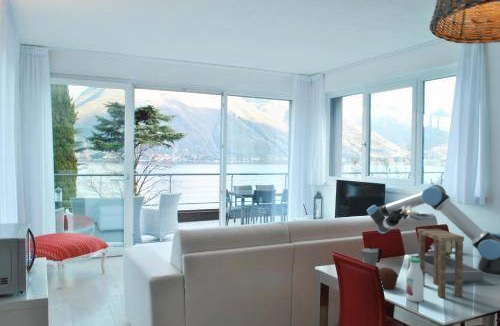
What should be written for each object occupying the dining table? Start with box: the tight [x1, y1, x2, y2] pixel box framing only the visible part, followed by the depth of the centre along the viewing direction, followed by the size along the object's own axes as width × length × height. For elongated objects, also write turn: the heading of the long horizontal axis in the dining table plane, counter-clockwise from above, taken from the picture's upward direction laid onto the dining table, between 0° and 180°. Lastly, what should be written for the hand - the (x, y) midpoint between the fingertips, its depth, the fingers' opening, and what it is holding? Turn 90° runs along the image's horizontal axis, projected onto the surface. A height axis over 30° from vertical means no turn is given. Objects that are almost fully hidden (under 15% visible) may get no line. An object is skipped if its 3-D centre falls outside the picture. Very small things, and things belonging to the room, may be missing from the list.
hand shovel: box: [398, 208, 436, 221], centre depth 225 cm, size 29×9×3 cm, turn 7°
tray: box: [410, 254, 484, 285], centre depth 229 cm, size 35×22×6 cm, turn 7°
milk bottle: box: [405, 257, 425, 303], centre depth 188 cm, size 8×8×20 cm
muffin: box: [378, 267, 399, 291], centre depth 205 cm, size 12×11×10 cm
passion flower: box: [427, 242, 450, 257], centre depth 269 cm, size 11×11×12 cm
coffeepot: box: [360, 244, 383, 267], centre depth 224 cm, size 15×9×18 cm, turn 113°
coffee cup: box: [446, 241, 453, 254], centre depth 281 cm, size 9×9×12 cm
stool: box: [417, 228, 465, 299], centre depth 200 cm, size 21×12×30 cm, turn 7°
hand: (407, 207), depth 231 cm, fingers closed on hand shovel, 3 cm apart
